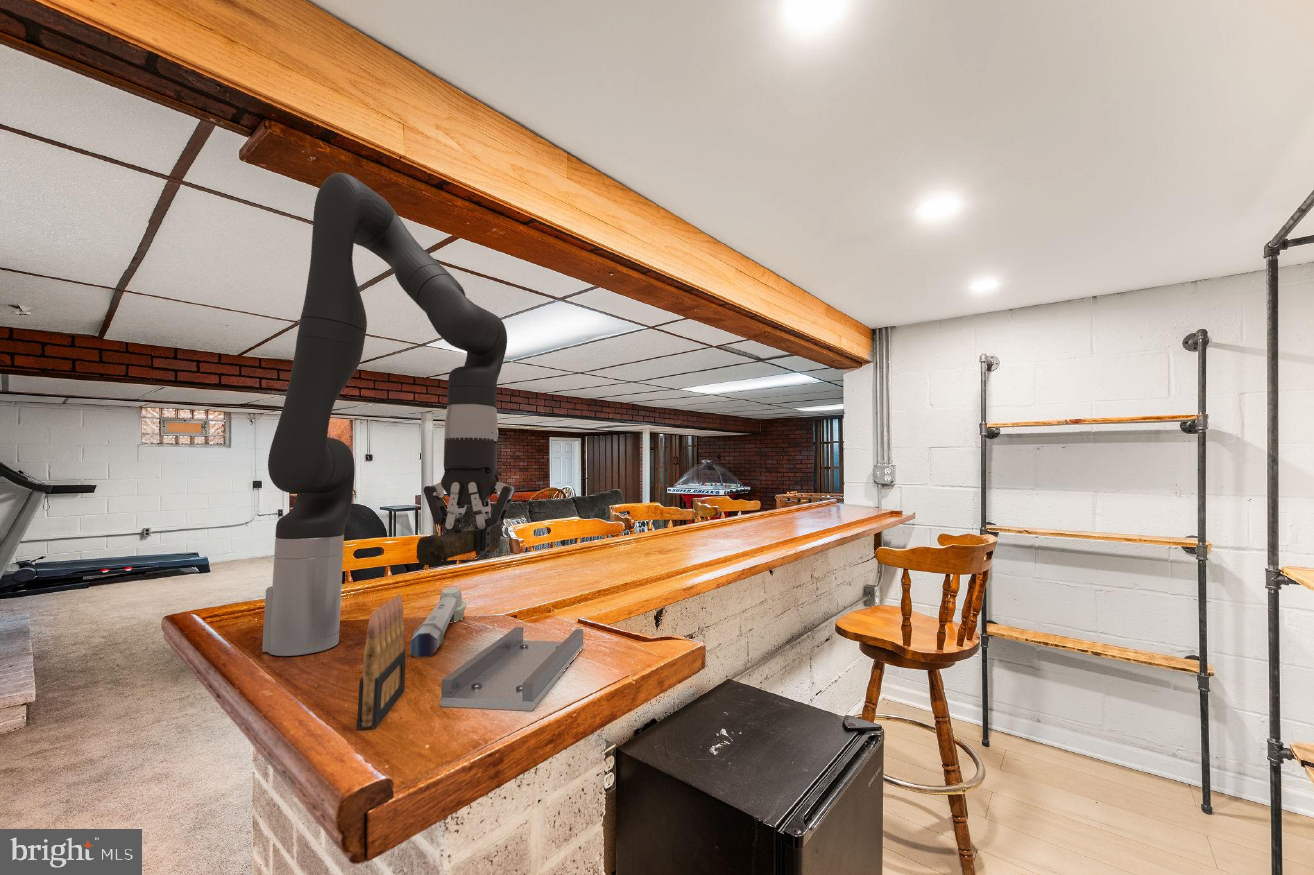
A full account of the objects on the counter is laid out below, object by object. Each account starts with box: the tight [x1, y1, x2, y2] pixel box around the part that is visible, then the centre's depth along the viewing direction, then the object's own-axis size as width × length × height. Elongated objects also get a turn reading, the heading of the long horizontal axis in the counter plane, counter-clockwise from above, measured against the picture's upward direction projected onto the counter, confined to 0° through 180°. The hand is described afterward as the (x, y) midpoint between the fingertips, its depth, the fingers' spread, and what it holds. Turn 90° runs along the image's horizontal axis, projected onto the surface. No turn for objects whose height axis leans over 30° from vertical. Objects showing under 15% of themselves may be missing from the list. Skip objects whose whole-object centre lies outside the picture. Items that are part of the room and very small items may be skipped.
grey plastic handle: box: [409, 586, 467, 658], centre depth 92 cm, size 5×7×25 cm
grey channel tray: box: [440, 626, 585, 712], centre depth 73 cm, size 11×23×3 cm, turn 174°
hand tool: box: [415, 524, 501, 566], centre depth 79 cm, size 19×4×5 cm, turn 166°
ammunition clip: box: [356, 593, 407, 731], centre depth 62 cm, size 11×2×12 cm, turn 10°
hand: (468, 554), depth 79 cm, fingers closed on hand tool, 3 cm apart
